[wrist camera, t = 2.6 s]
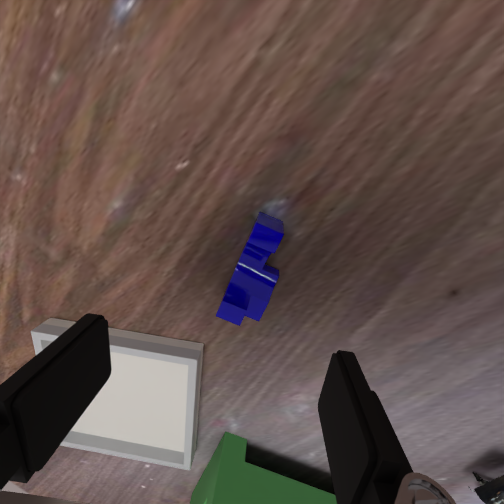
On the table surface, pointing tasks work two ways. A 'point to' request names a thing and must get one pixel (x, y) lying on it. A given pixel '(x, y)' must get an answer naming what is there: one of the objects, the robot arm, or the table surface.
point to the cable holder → (253, 273)
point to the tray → (140, 398)
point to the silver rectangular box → (490, 490)
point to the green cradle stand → (249, 481)
